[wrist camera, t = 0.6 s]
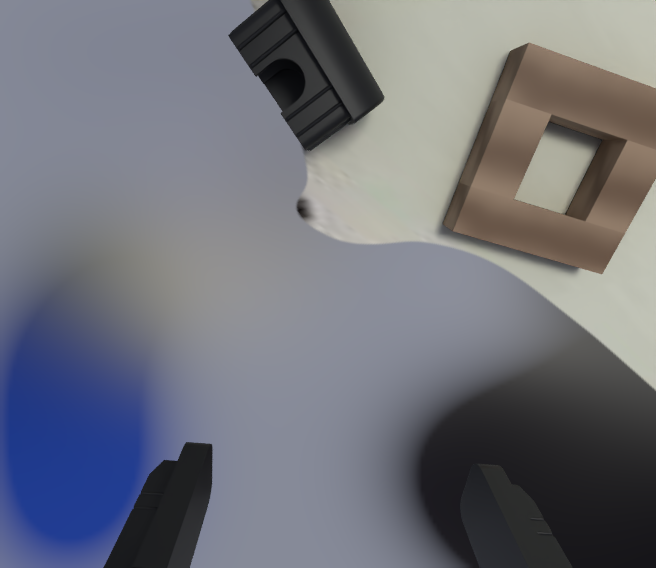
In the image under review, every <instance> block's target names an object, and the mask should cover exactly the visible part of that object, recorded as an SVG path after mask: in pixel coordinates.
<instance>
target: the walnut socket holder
mask: <svg viewBox="0 0 656 568" xmlns="http://www.w3.org/2000/svg"><path fill="white" fill-rule="evenodd" d="M548 122H551V123H554V124H557V125H560V126H563V127H566V128H569V129H572V130H575V131H578V132H581V133H584V134H587V135H590V136H593V137H596V138H599V139H602V142H601V144H600V146H599V148H598V150H597V152H596V154H595V156H594V158H593V160H592V162H591V164H590V166H589V168H588V170H587V172H586V174H585V176H584V178H583V180H582V182H581V184H580V186H579V188H578V190H577V192H576V194H575V196H574V198H573V200H572V202H571V204H570V206H569V208H568V211H567V213H566V215H563V214H560V213H557V212H554V211H550V210H547V209H544V208H541V207H537V206H534V205H531V204H527V203H524V202H521V201H518V200H514V198H515V195H516V193H517V191H518V189H519V186H520V184H521V182H522V180H523V177H524V175H525V173H526V171H527V168H528V166H529V164H530V162H531V159H532V157H533V155H534V153H535V150H536V148H537V146H538V144H539V141H540V139H541V137H542V135H543V133H544V130H545V128H546V126H547V124H548ZM655 179H656V88H653V87H650V86H648V85H645V84H642V83H639V82H636V81H634V80H631V79H628V78H625V77H623V76H620V75H617V74H614V73H612V72H609V71H606V70H603V69H600V68H598V67H595V66H592V65H589V64H587V63H584V62H581V61H578V60H576V59H573V58H570V57H567V56H564V55H562V54H559V53H556V52H553V51H551V50H548V49H545V48H542V47H540V46H537V45H534V44H531V43H527V44H525V45H523V46H520V47H518V48H516V49H514V50H511V51H510V54H509V56H508V59H507V61H506V64H505V66H504V69H503V72H502V74H501V77H500V79H499V82H498V84H497V87H496V89H495V92H494V94H493V97H492V100H491V102H490V105H489V107H488V110H487V112H486V115H485V117H484V120H483V122H482V125H481V128H480V130H479V133H478V135H477V138H476V140H475V143H474V145H473V148H472V150H471V153H470V156H469V158H468V161H467V163H466V166H465V168H464V171H463V173H462V176H461V178H460V181H459V184H458V186H457V189H456V191H455V194H454V196H453V199H452V201H451V204H450V207H449V209H448V212H447V214H446V217H445V219H444V222H443V225H445V226H446V227H447V228H449V229H450V230H452V231H454V232H457V233H461V234H464V235H468V236H471V237H474V238H478V239H481V240H485V241H488V242H492V243H495V244H499V245H502V246H506V247H509V248H513V249H516V250H520V251H523V252H526V253H530V254H533V255H537V256H540V257H544V258H547V259H551V260H554V261H558V262H561V263H565V264H568V265H571V266H575V267H578V268H582V269H585V270H589V271H592V272H596V273H599V274H602V273H603V272H604V270H605V268H606V266H607V265H608V263H609V261H610V259H611V257H612V256H613V254H614V252H615V250H616V249H617V247H618V245H619V243H620V241H621V240H622V238H623V236H624V234H625V232H626V231H627V229H628V227H629V225H630V224H631V222H632V220H633V218H634V216H635V215H636V213H637V211H638V209H639V207H640V206H641V204H642V202H643V200H644V199H645V197H646V195H647V193H648V191H649V190H650V188H651V186H652V184H653V182H654V181H655Z"/></svg>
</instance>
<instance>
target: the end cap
mask: <svg viewBox="0 0 656 568" xmlns="http://www.w3.org/2000/svg"><path fill="white" fill-rule="evenodd" d="M229 37H230V39H231V41H232V42H233V43H234V45H235V46H236V48H237V49H238V51H239V52H240V54H241V55H242V57H243V58H244V60H245V61H246V63H247V64H248V66H249V67H250V69H251V70H252V72H253V73H254V75H255V76H259V78H260V79H261V81H262V82H263V84H265V86H266V87H267V89H268V90H269V92H270V93H271V95H272V96H273V98H274V99H275V101H276V102H277V104H278V105H279V107H280V108H281V110H282V111H283V112H282V113H281V115H282V116H283V118H284V119H285V121H286V122H287V124H288V125H289V126H290V128H291V129H292V131H293V133H294V134H295V136H296V137H297V139H298V140H299V141H300V143H301V144H302V146H303V147H304V149H305V150H310V151H311V150H312V149H313V148H315V147H316V146H318V145H319V144H320V143H322V142H323V141H324V140H326V139H327V138H328V137H330V136H331V135H332V134H334V133H335V132H337V131H338V130H339V129H341V128H342V127H343V126H345V125H346V124H347V123H348V124H349V125H350V124H353V123H355V122H357V121H358V120H360V119H361V118H362V117H364V116H365V115H366V114H368V113H369V112H370V111H372V110H373V109H374V108H375V107H377V106H378V105H379V104H380V103H382V102H383V100H384V95H383V93H382V92H381V90H380V88H379V86H378V85H377V83H376V81H375V79H374V78H373V76H372V74H371V72H370V71H369V69H368V67H367V66H366V64H365V62H364V60H363V59H362V57H361V55H360V53H359V52H358V50H357V48H356V46H355V45H354V43H353V41H352V39H351V38H350V36H349V34H348V33H347V31H346V29H345V27H344V26H343V24H342V22H341V20H340V19H339V17H338V15H337V13H336V12H335V10H334V8H333V6H332V5H331V3H330V1H329V0H269V1H267V2H266V3H265V4H264V5H263V6H261V7H260V8H259V9H258V10H257V11H255V12H254V13H253V14H252V15H251V16H250V17H248V18H247V19H246V20H245V21H244V22H242V23H241V24H240V25H239V26H238V27H236V28H235V29H234V30H233V31H232V32H231V33H230V35H229Z"/></svg>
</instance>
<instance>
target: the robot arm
mask: <svg viewBox="0 0 656 568" xmlns="http://www.w3.org/2000/svg"><path fill="white" fill-rule="evenodd" d="M211 487H212V444H205V443H191V442H186V444H185V445H184V447H183V449H182V452H181V454H180V456H179V459H178V461H169V460H164V461H163V462H162V463H161V464H160V465H159V466H157V467H156V469H154V470H153V471H152V472H151V473H150V474H149V476H148V478H147V480H146V483H145V484H144V486H143V489H142V491H141V494H140V495H139V497H138V499H137V501H136V503H135V505H134V509H133V510H132V511H131V513H130V515H129V517H128V519H127V521H126V523H125V525H124V527H123V530H122V532H121V533H120V535H119V537H118V540H117V542H116V544H115V546H114V548H113V550H112V552H111V554H110V556H109V558H108V560H107V562H106V564H105V566H104V568H190V565H191V561H192V558H193V555H194V551H195V548H196V544H197V541H198V537H199V534H200V531H201V527H202V524H203V520H204V517H205V514H206V510H207V507H208V503H209V499H210V494H211ZM461 516H462V520H463V523H464V526H465V529H466V531H467V534H468V537H469V539H470V542H471V545H472V548H473V550H474V553H475V556H476V559H477V561H478V564H479V567H480V568H572V566H571V565H570V563H569V561H568V559H567V558H566V556H565V554H564V552H563V551H562V549H561V547H560V545H559V544H558V542H557V540H556V539H555V537H554V536H552V532H551V530H550V528H549V527H548V525H547V523H546V522H545V521H544V520H543V516H542V515H541V513H540V511H539V510H538V508H537V506H536V504H535V502H534V501H533V500H532V499H531V498H530V497H529V496H528V495H527V494H526V493H525V492H524V491H523V490H522V489H521V488H520V487H519V486H518V485H511V483H510V481H509V479H508V477H507V476H506V474H505V472H504V470H503V469H502V468H501V467H500V466H498V465H486V464H474V465H473V466H472V468H471V470H470V473H469V477H468V479H467V483H466V486H465V489H464V492H463V495H462V498H461Z"/></svg>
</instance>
